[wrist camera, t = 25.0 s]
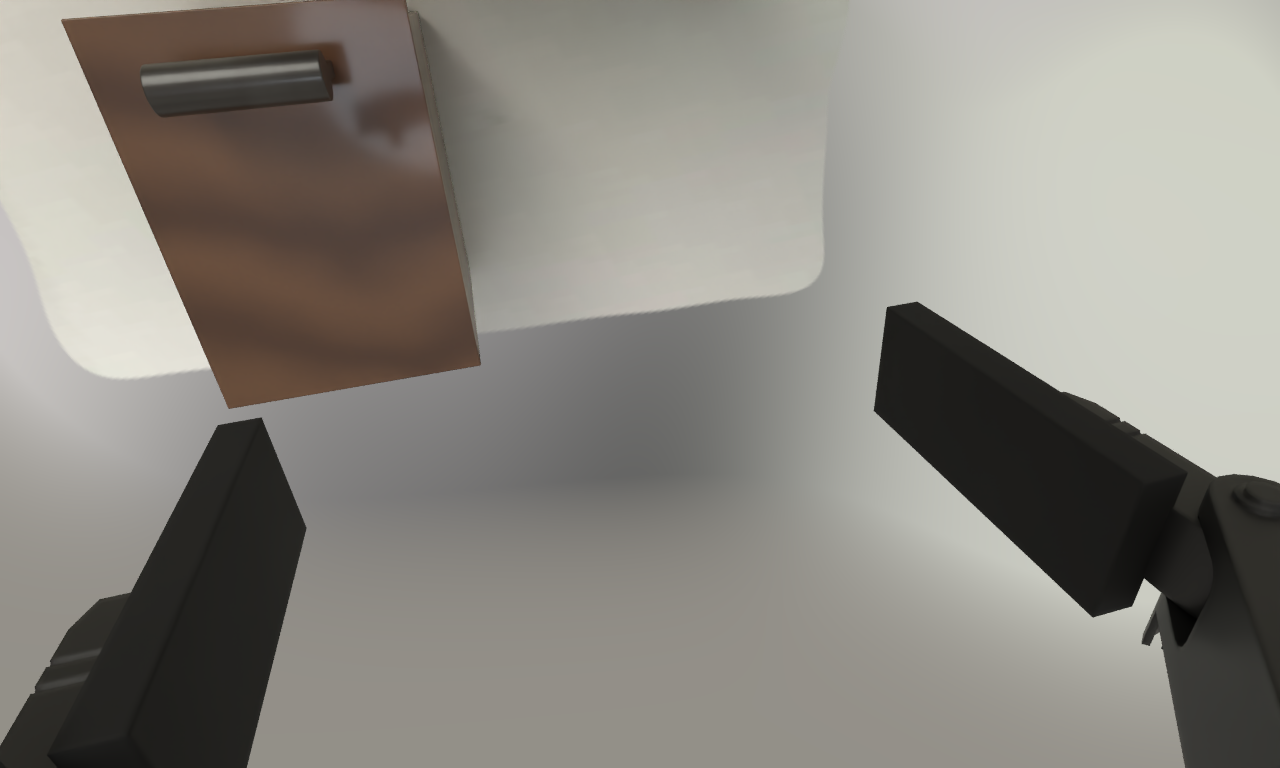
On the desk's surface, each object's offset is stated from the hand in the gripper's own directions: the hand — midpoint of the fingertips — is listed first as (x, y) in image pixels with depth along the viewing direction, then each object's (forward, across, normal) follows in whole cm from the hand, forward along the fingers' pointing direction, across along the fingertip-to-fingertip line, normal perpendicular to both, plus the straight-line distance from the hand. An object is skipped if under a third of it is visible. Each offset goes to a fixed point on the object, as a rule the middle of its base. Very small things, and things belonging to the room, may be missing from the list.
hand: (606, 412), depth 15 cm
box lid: (+22, +10, +1) cm, 24 cm away
